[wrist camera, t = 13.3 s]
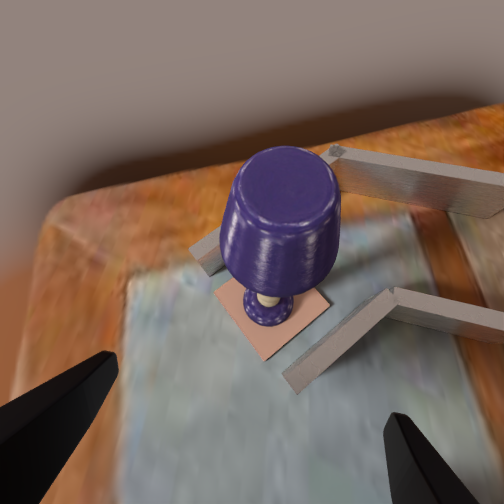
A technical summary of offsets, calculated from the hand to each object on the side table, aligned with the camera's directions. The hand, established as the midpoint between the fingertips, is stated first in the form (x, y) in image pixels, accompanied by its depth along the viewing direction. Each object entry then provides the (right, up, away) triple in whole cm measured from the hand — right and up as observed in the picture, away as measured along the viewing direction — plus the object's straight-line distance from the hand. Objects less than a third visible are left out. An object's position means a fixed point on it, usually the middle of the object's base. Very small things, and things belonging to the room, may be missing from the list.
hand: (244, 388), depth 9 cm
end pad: (+2, 0, +14) cm, 15 cm away
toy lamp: (+2, 0, +14) cm, 14 cm away
